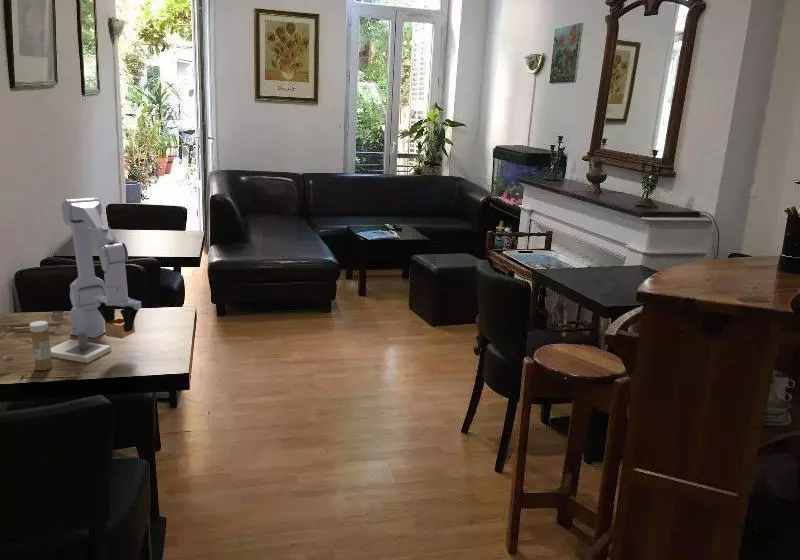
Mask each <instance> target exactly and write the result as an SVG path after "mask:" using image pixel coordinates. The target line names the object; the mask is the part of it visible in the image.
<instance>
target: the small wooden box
mask: <svg viewBox="0 0 800 560" xmlns="http://www.w3.org/2000/svg"><path fill="white" fill-rule="evenodd" d="M104 327H105V332H106V333H105V337H108V338H109V337H110V338H114V339H116V338H117V339H124V338H127V337H128V336H130V335H132V334H134V333H136V327H135V322H134V323H133V329H132V330H131V331H129V332H126V330H125V325H124V319H123V317H122V316H117V317H115V319H112V320H110V321H108V322H104Z"/></svg>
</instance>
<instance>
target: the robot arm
mask: <svg viewBox="0 0 800 560" xmlns="http://www.w3.org/2000/svg"><path fill="white" fill-rule="evenodd" d="M101 203H102V202H101V200H100V199H99V198H98V197H97V196H93V197H81V198H80V197H79V198H69V199H68V198H65V199H64V200H63V201H62V205H61V211H62V218H63V222H64V225H65V226H69V227H70V229H71V233H72V234H71V235H72V241H73V247H74V255H75V262H76V268H77V269H76V270H77V275H78V276H77V278H76V279H75V280H74V281H73V282H71V283H70V284H69V291H70V292H69V298H70V302H71V305H72V308H71V309H70V312H69V318H70V327H71V332H69V335H70V336H71V335H73V336H78V333H80V332H86V333H87V338H90V339H96V338H98V337H99V336H100V337H101V335H103V334H106V332H105V323H106V322H108V321H110V320H112V319H115V318H116V317H115V316H116V307H121V308H123V309H121V310H119V312H120V314H121V317H122V318H123V319H124V325H125V330H126V332H129V331H131V330H132V329H133V323H134V324H135V319H136V316H137V314H138V313H139V310H140V309H142V301H140V300H136V299H133V298H130V297H129V295H128V293H129V292H128V282H127V270H126V263H127V262H128V260H129V252H128V249H127V248H128V247H127V245H126V244H125V242H124V241H121V240H118V239H117V237H116V236H115V234H114V232H113V230H112V229H111V227H108V226H106V225H105V224H104V220H102V212H103V208H102V204H101ZM90 231H91V235H90ZM91 240H92V241H93V243H94V245H95V246H96V249H97V250H98V256H99V257H98V258H99V262H100V264H101V269H102V271H103V275H104V280H103V279H101V278H100V277H97V276H96V272H95V265H94V258H93V251H92V244H91Z"/></svg>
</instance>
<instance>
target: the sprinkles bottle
mask: <svg viewBox="0 0 800 560" xmlns="http://www.w3.org/2000/svg"><path fill="white" fill-rule="evenodd" d="M28 325H29V331H30V334H31V345H32V354H33V359H34V360H33V361H34V369H35V370H37V371H41V370H43V371H47V370H50V369H51V368H53V366H54V365H53V360H52V357H51V348H52V347H51V341H50V336H49V335H50V334H49V322H48V321H46V320H37V321H32V322H31V323H29V324H28Z"/></svg>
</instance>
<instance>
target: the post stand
mask: <svg viewBox="0 0 800 560" xmlns="http://www.w3.org/2000/svg"><path fill="white" fill-rule="evenodd" d="M50 348H51V358H56V357H57V359H62V360H69V361H74V362H78V363H85V362H86V364H89V363H90V362H92V361H94V360H96V359H98V358H100V357H102V356H104V355H106V354H108V353H110V352H111V351H112V346H111V345H107V344H101V343H95V342H88V337H87V333H86V332H80V333H78V335H77V340H76V339H71V338H70V339H68V340H66V341H63V342H61V343H59V344H57V345H54V346H52V347H50Z"/></svg>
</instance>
